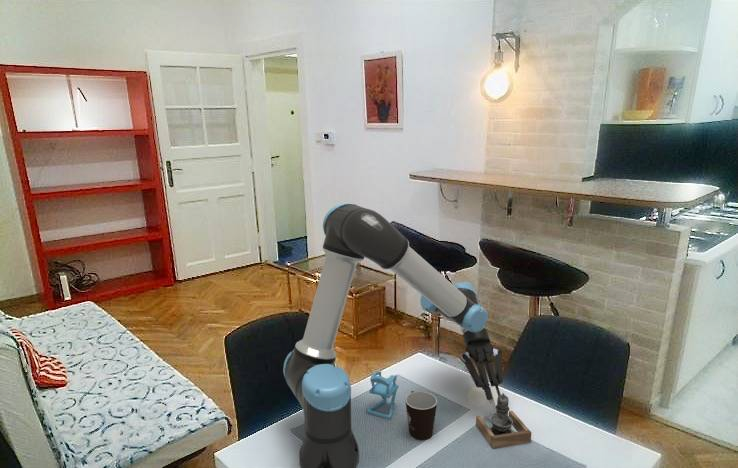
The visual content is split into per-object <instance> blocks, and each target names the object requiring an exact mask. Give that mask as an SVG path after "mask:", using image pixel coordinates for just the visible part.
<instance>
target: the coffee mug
mask: <svg viewBox="0 0 738 468" xmlns="http://www.w3.org/2000/svg"><path fill="white" fill-rule="evenodd" d="M404 400H405V408H406V415H407V424H408V432H409V435H410V437H411V438H413V439H414V440H417V441H427V440H429V439H431V438H432V436H433V433H434V425H435V420H436V413H437V407H438V405H437V404H438V399H437V397H436V396H435V395H434V394H432V393H431V392H428V391H421V390H418V391H412V390H411V392H409V393H408V394H407V395H406V396H405V399H404Z"/></svg>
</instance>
